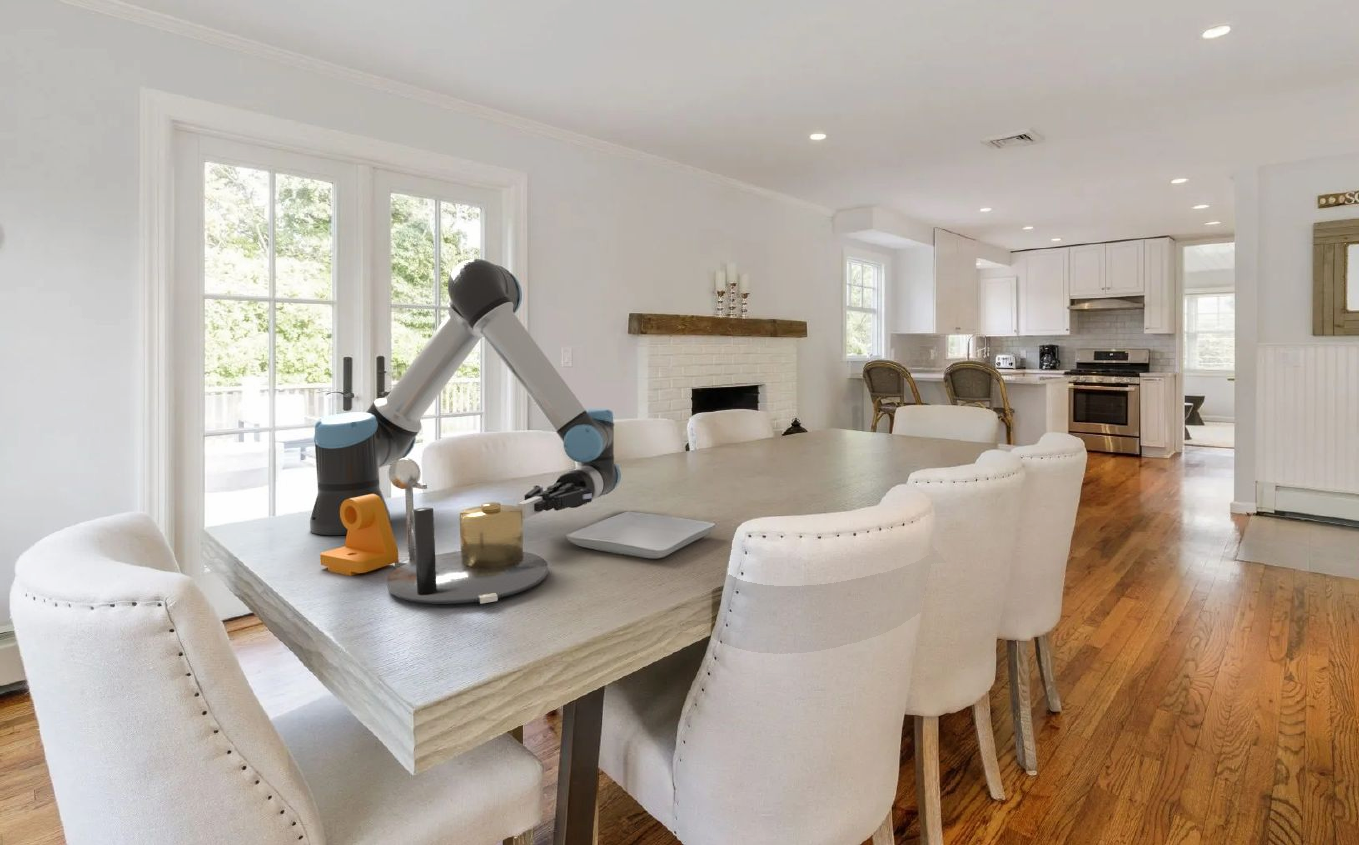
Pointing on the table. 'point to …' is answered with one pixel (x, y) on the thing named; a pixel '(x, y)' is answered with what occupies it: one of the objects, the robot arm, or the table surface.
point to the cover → (491, 535)
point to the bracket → (363, 538)
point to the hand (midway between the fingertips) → (521, 511)
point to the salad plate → (640, 534)
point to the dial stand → (407, 498)
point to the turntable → (458, 572)
